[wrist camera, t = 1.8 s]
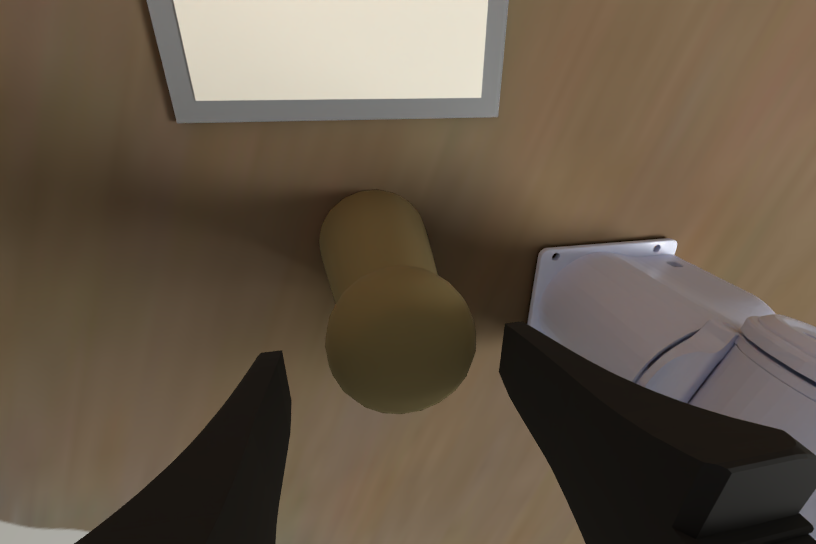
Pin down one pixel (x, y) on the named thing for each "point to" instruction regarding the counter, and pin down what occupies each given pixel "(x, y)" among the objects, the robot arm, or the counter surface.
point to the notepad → (330, 58)
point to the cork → (391, 307)
